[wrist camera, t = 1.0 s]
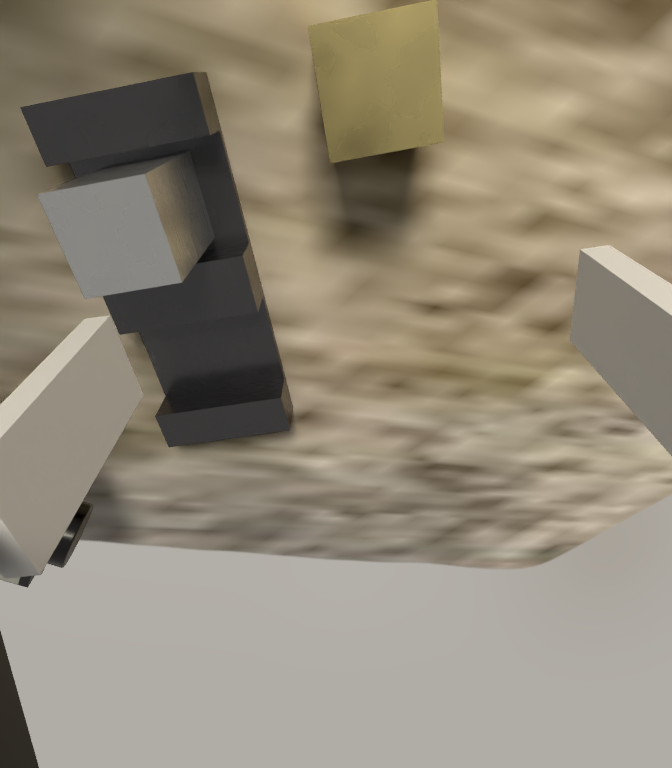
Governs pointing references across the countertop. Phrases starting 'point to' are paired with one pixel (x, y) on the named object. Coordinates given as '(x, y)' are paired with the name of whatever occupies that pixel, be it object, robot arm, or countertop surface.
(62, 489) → the robot arm
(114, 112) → the rack
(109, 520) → the countertop surface
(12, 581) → the pneumatic valve
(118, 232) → the light grey upright block
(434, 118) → the block
